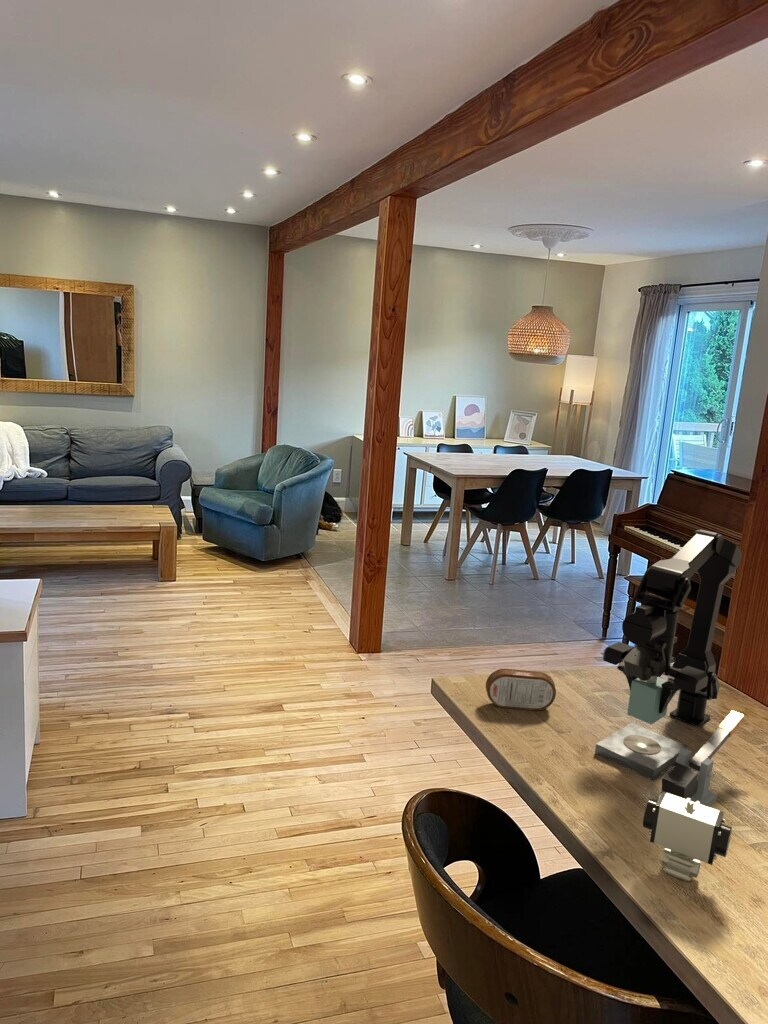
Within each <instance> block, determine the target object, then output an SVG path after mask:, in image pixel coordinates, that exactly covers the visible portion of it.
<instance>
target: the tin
mask: <svg viewBox="0 0 768 1024" xmlns="http://www.w3.org/2000/svg"><path fill="white" fill-rule="evenodd" d="M556 689H557V688H556V685H555V682H554V680H553V678H552V677H551V676H550V675H548V674H547V673H545V672H542V671H536V670H526V669H524V670H523V669H514V668H500V669H497V670H495V671H493V672H492V673H491V674H490V675H489V676H488V677H487V679H486V683H485V690H486V691H485V692H486V694H487V697H488V699H489V701H490V702H491V703H492V704H493V705H494V706H497V707H499V708H503V709H514V710H515V709H516V710H527V711H543V710H546V709H547V708H549V707H550V706H551V705H552V704H554V701H555V699H556V696H557V695H556V694H557V691H556Z"/></svg>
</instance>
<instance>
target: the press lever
mask: <svg viewBox="0 0 768 1024" xmlns="http://www.w3.org/2000/svg"><path fill="white" fill-rule="evenodd" d="M744 721H745V715H744V714H743V713H740V712H737V711H735V710H731V711H730V713H729V714H728V715H727V716H726V717H725V718H724V720H722V722H721V723H720V724H719V725H718V727H717V728H716V730H715V731H714V732H713V733H712V735H710V737H709V738H708V739H707V740H706V741H705V742H704V744H703V745H702V747H700V748H699V749H698V751H697V752H696V753H694V756H693V757H692V758H690V761H689V768H688V767H686V766H684V765H682V764H679V763H677V762H675V764H674V765H673V766H671V767H670V768H668V769H667V770H666V772H665V774H664V775H663V776H662V777H661V793H662V791H663V792H666V793H669V794H672V795H675V796H678V797H681V798H684V799H687V798H690V799H691V798H692V797H693V795H694V794H695V793H696V792H697V786H698V777H699V771H700V766H701V762H702V761H703V760H705V759H706V758H709V759H711V760H712V759H713V757H714V756H715V754H716V753H717V752H718V751H719V750H720V749H721V747H722V746H724V744H725V743H726V741H727V740H728V739H729V738H731V737H732V736H733V734H735V732H736V731H737V730H738V729H739V727H740V726H741V725H742V723H743V722H744Z"/></svg>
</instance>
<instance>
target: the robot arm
mask: <svg viewBox="0 0 768 1024" xmlns="http://www.w3.org/2000/svg"><path fill="white" fill-rule="evenodd" d="M742 553H743V552H742V550H741V549H740V547H739V546H738V544H736V543H734V542H732V541H730V540H729V539H726V538H725V537H724V536H723V535H722V534H720V533H719V532H714V531H710V530H704V529H697V530H695V531H694V533H693V534H692V537H691V539H690V540H688V541H687V542H686V543H685V544H684V545H683V546H682V547H681V548H680V549H679V550H678V552H676V553H675V554H674V555H673V556H672V557H671V558H668V559H660V560H659V561H657V562H655V563H654V564H652V565H651V566H650V567H649V568H647V569H646V571H645V573H643V574H644V575H643V577H642V579H641V581H640V583H639V586H638V588H637V590H636V592H635V595H634V596H633V602H635V603H639V605H637V606H635V608H634V612H632V613H630V614H628V615H627V616H625V618H624V619H623V621H622V624H621V629H622V633H623V635H624V637H625V638H626V640H628V641H629V643H632V644H634V645H635V647H634V646H632V645H629V644H627V643H624V642H621V641H618V642H616V643H613V644H611V645H608V646H607V647H605V649H604V650H603V655H602V660H603V662H606V663H608V664H610V665H611V664H612V665H615V666H617V665H618V666H617V670H618V671H621V673H623V674H624V675H625V678H626V680H627V684H628V687H629V691H631V684H632V681H633V680H635V679H636V678H639V679H640V680H643V681H647V680H649V679H650V678H651V676H657V677H659V678H661V676H662V675H664V676H666V677H667V680H668V681H666V682H664V683H663V684H662V688H663V692H662V696H661V701H660V705H659V713H663V712H664V710H665V709H666V707H667V708H668V706H669V703H671V701H672V699H673V698H674V696H675V695H676V693H677V692H678V691H679V692H678V698H677V705H676V708H675V709H673V710H672V711H670V712H669V716H671V717H673V718H675V719H678V720H680V721H683V722H685V723H688V724H691V725H693V726H696V727H700V726H702V724H705V723H706V721H708V720H710V719H711V715H709V714H708V713H706V711H707V709H706V708H707V703H708V701H710V700H717V699H718V696H719V694H718V693H719V691H720V687H721V685H720V682H719V678H718V676H717V673H716V667H717V663H716V660H715V657H714V654H713V652H712V646H713V640H714V636H715V631H716V625H717V621H718V616H719V613H720V607H721V601H722V597H723V592H724V587H725V584H726V583H727V582H728V581H729V580H730V579H731V578H732V577H734V575H735V574H736V572H737V569H738V567H739V566H740V564H741V562H742V561H741V560H742V558H743V554H742ZM696 572H697V575H698V577H699V580H700V582H699V587H698V591H697V596H696V602H695V607H694V611H693V616H692V620H691V626H690V630H689V634H688V635H689V636H688V640H687V645H686V647H685V648H683V649H682V650H681V651H680V652H679V653H677V654H676V656H675V657H674V656H673V652H674V651H673V650H674V645H675V644H676V643H677V642H678V637H677V636H676V632H677V626H678V625H677V624H678V619H679V618H678V617H679V612H680V611H679V610H680V608H681V609H682V607H683V605H684V603H685V602H686V600H687V598H688V596H689V594H690V592H691V590H692V586H691V585H692V584H691V578H692V577H693V576H694V575H695V574H696ZM646 593H647V594H646ZM671 665H672V666H671ZM667 705H668V706H667Z"/></svg>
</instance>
